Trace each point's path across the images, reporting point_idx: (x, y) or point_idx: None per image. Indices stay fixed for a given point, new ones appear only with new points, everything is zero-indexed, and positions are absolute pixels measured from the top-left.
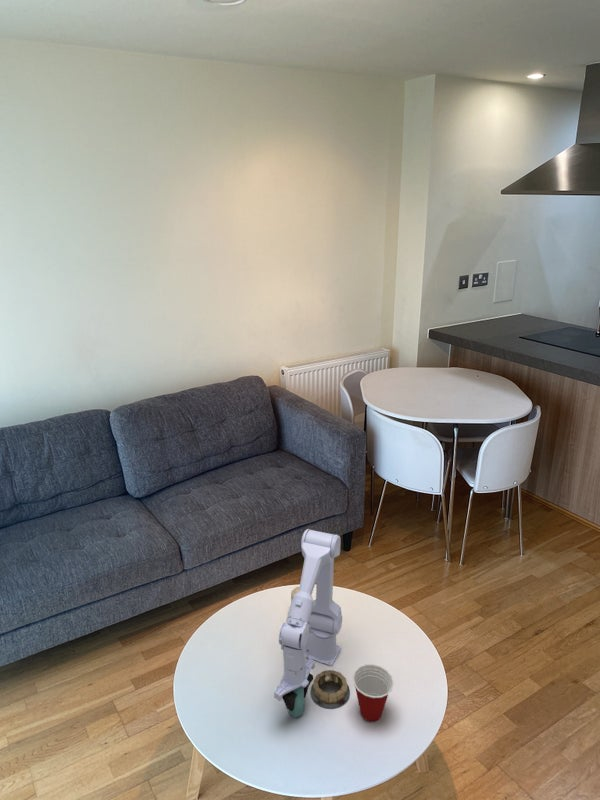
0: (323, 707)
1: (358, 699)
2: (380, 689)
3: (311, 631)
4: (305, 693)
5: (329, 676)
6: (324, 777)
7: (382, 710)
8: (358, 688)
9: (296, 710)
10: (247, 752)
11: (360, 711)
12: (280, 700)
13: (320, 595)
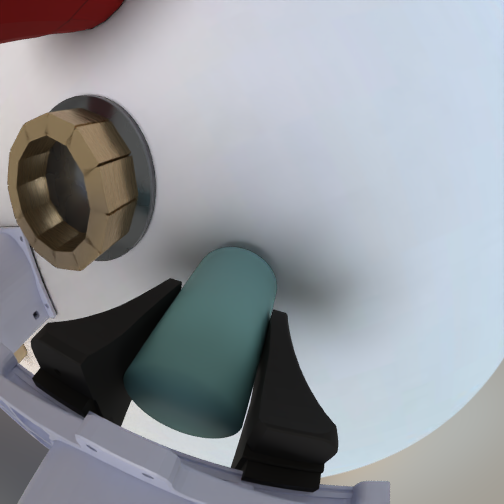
0: (153, 169)
1: None
2: None
3: None
4: (156, 300)
5: (37, 216)
6: (493, 44)
7: None
8: (2, 36)
9: (264, 292)
10: (457, 355)
11: (105, 3)
12: (387, 486)
13: None
